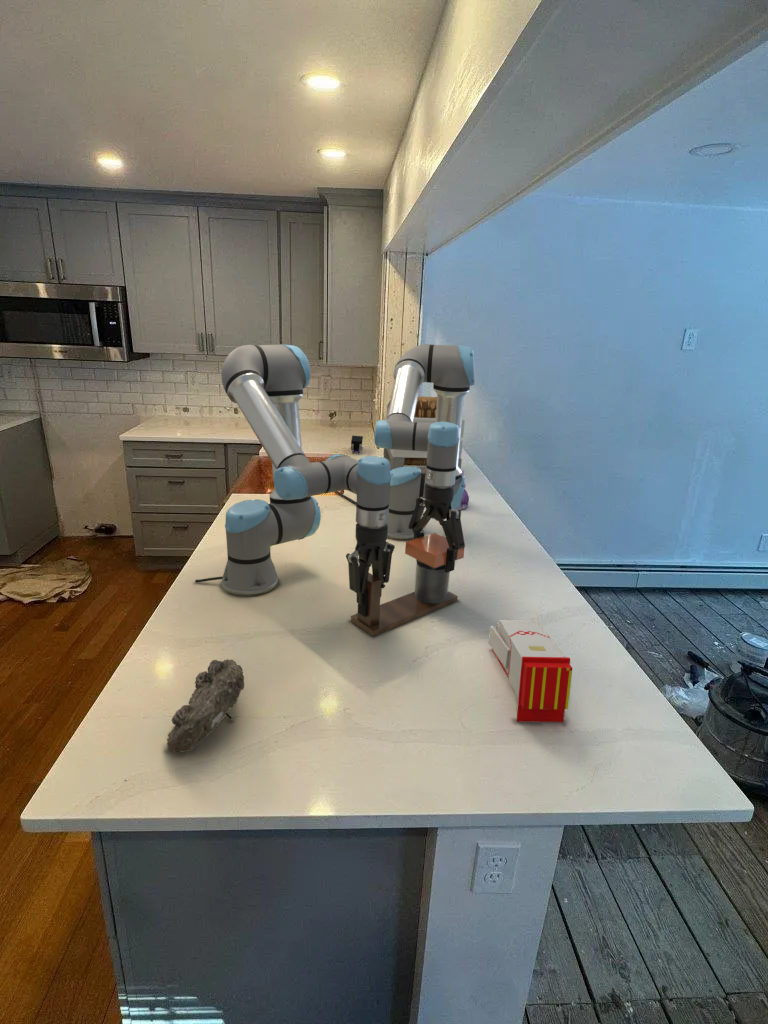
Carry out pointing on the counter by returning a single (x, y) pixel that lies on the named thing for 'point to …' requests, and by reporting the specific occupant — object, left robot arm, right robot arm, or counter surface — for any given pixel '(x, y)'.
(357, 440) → the figurine character
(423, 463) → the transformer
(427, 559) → the orange square block
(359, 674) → the counter surface
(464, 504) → the figurine
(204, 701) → the fossil
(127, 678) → the counter surface
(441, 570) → the caddy
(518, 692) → the toy
